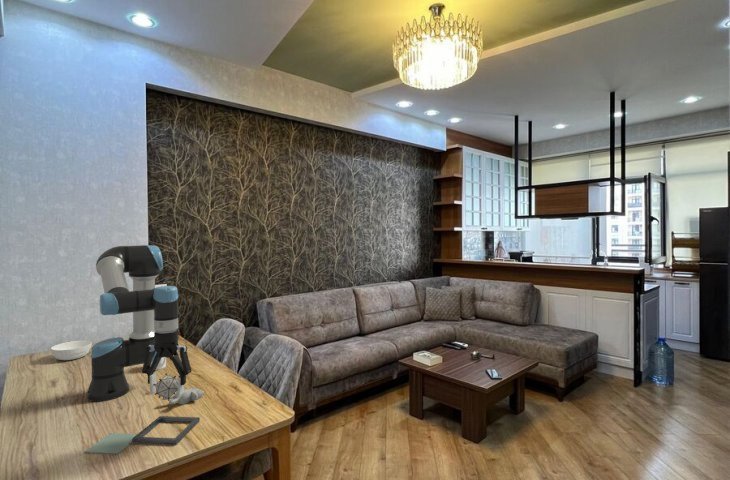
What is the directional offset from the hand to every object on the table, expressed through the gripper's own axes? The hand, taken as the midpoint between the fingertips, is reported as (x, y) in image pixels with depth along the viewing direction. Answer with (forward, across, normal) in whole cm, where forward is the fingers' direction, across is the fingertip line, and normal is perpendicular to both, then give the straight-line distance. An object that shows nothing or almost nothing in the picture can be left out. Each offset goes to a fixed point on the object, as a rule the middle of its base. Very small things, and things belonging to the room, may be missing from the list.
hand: (167, 393), depth 134 cm
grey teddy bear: (+14, -6, +23) cm, 28 cm away
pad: (+14, -13, -9) cm, 21 cm away
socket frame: (+14, 0, 0) cm, 14 cm away
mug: (+15, -41, +59) cm, 73 cm away
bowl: (+15, -99, +71) cm, 122 cm away
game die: (+2, 0, 0) cm, 2 cm away
